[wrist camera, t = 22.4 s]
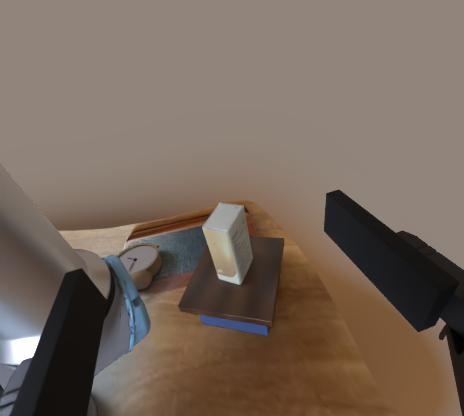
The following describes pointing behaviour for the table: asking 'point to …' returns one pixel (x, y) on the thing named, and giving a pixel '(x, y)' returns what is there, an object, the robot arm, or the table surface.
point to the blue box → (235, 325)
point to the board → (238, 286)
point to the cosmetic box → (229, 242)
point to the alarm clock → (141, 263)
